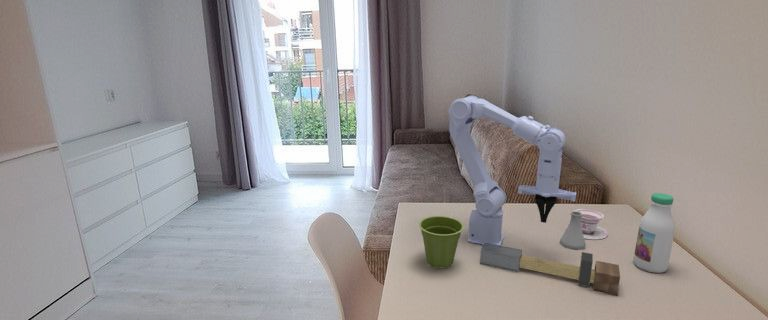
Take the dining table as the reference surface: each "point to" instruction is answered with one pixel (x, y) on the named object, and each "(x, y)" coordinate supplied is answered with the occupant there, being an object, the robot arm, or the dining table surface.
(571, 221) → the flask
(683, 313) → the dining table surface
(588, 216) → the teacup
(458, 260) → the dining table surface
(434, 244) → the plant pot
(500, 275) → the dining table surface
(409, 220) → the dining table surface
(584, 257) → the grey-banded wooden bar
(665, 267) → the milk bottle
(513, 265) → the sleeve
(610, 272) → the socket
